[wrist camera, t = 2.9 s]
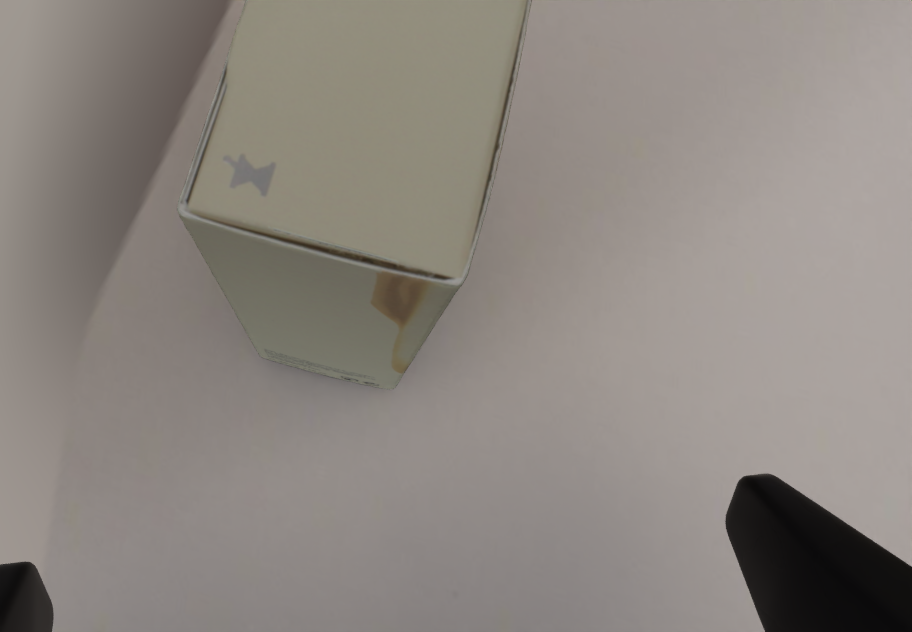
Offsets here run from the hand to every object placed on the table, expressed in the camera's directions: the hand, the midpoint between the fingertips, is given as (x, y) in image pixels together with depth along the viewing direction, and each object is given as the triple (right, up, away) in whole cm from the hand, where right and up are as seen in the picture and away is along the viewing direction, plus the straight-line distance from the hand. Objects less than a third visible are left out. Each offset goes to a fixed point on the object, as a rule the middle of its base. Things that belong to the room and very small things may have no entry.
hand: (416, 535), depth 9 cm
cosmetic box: (-3, +4, +13) cm, 14 cm away
